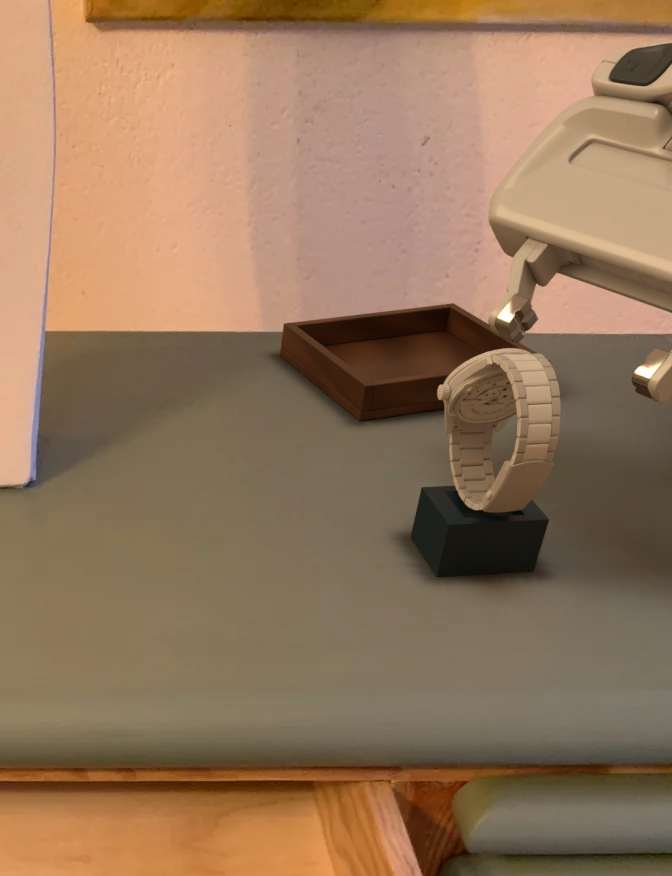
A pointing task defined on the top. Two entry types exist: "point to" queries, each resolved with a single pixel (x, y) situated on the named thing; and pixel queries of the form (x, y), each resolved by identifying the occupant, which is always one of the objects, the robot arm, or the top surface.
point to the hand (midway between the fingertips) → (569, 361)
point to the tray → (388, 356)
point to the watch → (491, 467)
